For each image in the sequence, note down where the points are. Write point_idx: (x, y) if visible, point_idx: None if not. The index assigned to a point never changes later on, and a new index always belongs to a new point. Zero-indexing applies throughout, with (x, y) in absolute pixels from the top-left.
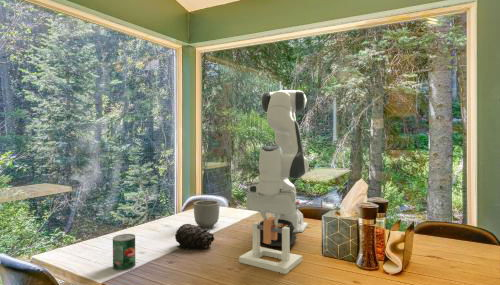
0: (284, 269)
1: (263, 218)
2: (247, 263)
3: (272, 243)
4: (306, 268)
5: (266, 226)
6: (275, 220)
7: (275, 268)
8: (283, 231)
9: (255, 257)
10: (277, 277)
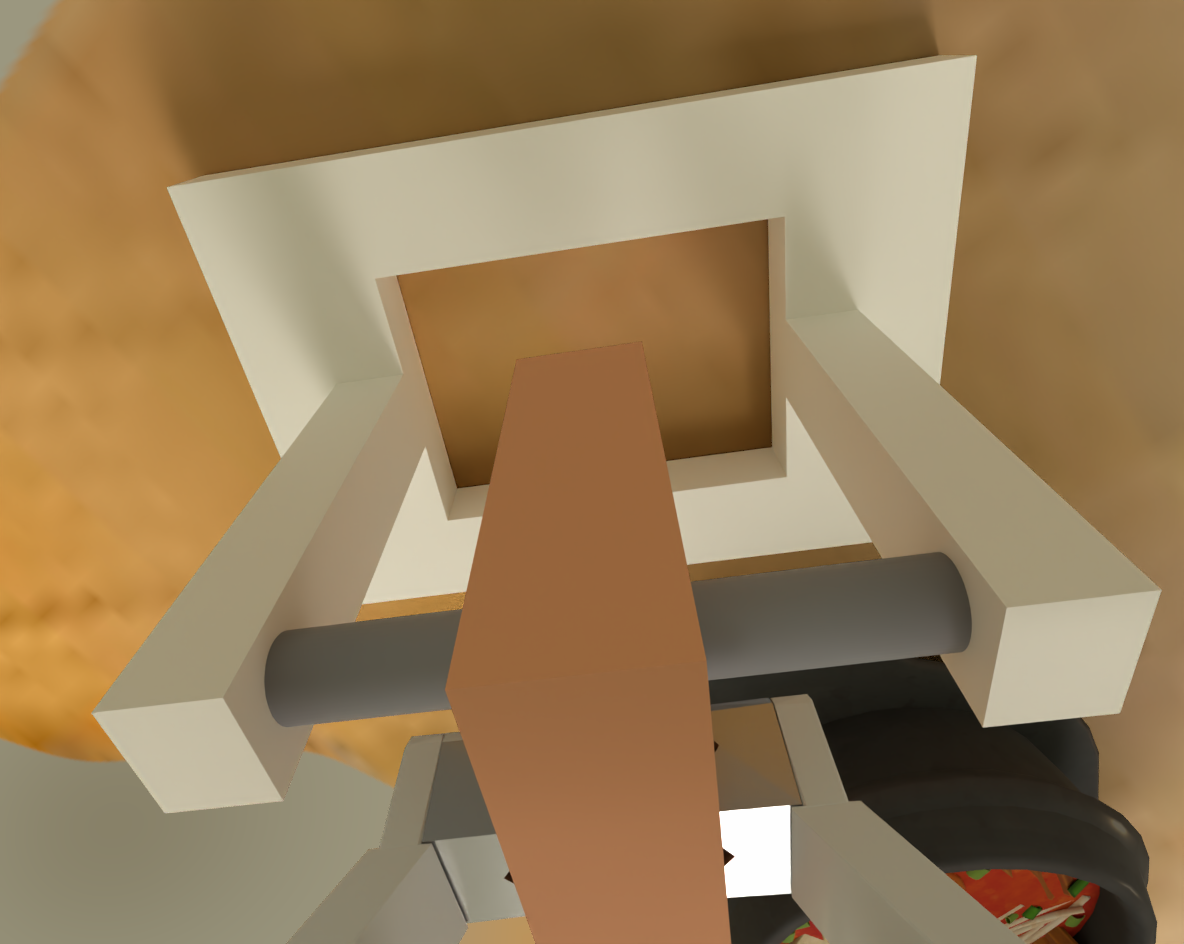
0: (198, 181)
1: (848, 813)
2: (791, 79)
3: (808, 674)
4: (190, 455)
5: (568, 549)
6: (377, 854)
7: (336, 156)
8: (212, 646)
9: (739, 217)
10: (193, 6)
